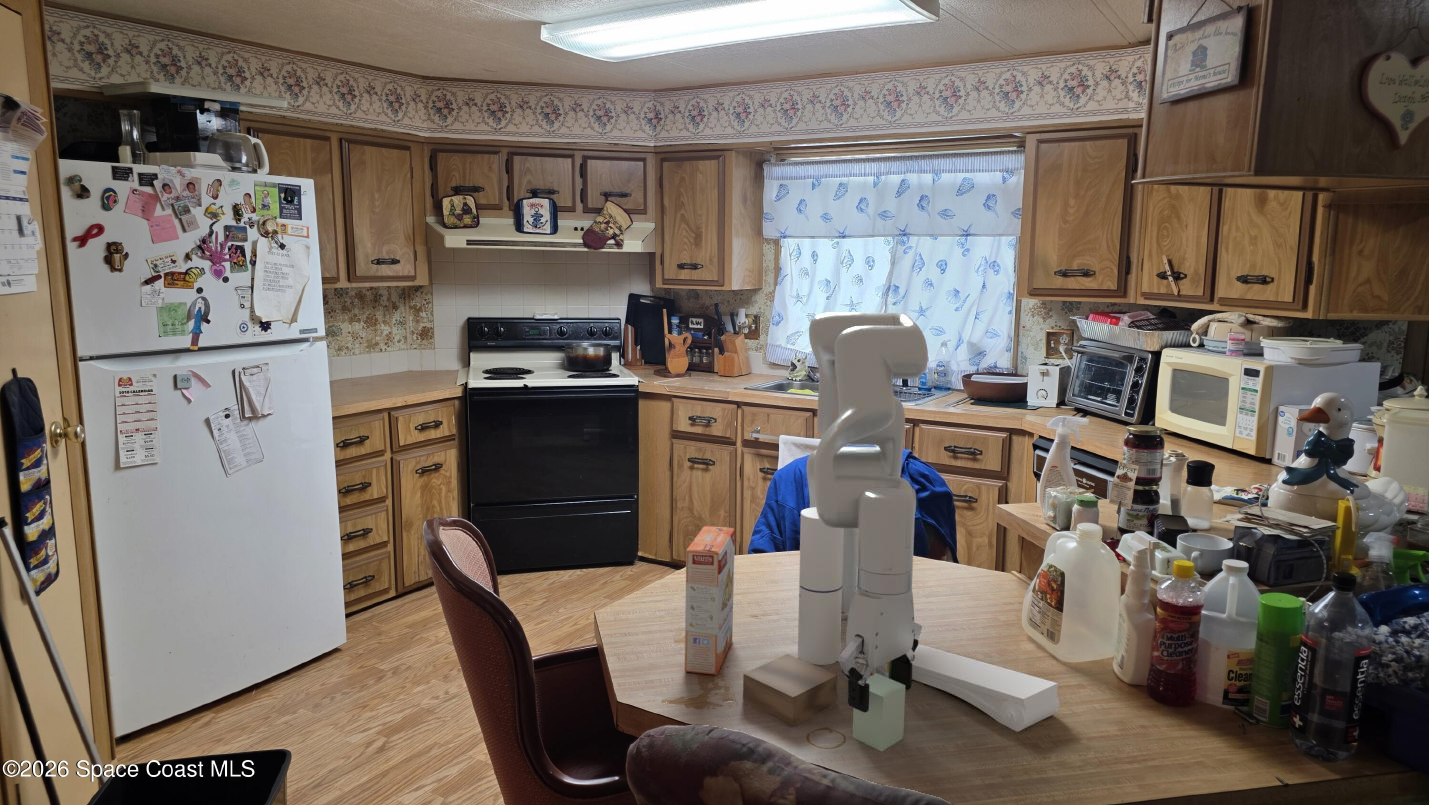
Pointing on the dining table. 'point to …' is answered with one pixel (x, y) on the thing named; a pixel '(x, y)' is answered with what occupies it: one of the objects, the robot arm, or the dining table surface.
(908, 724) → the dining table surface
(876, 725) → the sage block
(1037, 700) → the white arched block
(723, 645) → the cracker box
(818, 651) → the cylindrical container
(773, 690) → the walnut block
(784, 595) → the dining table surface
